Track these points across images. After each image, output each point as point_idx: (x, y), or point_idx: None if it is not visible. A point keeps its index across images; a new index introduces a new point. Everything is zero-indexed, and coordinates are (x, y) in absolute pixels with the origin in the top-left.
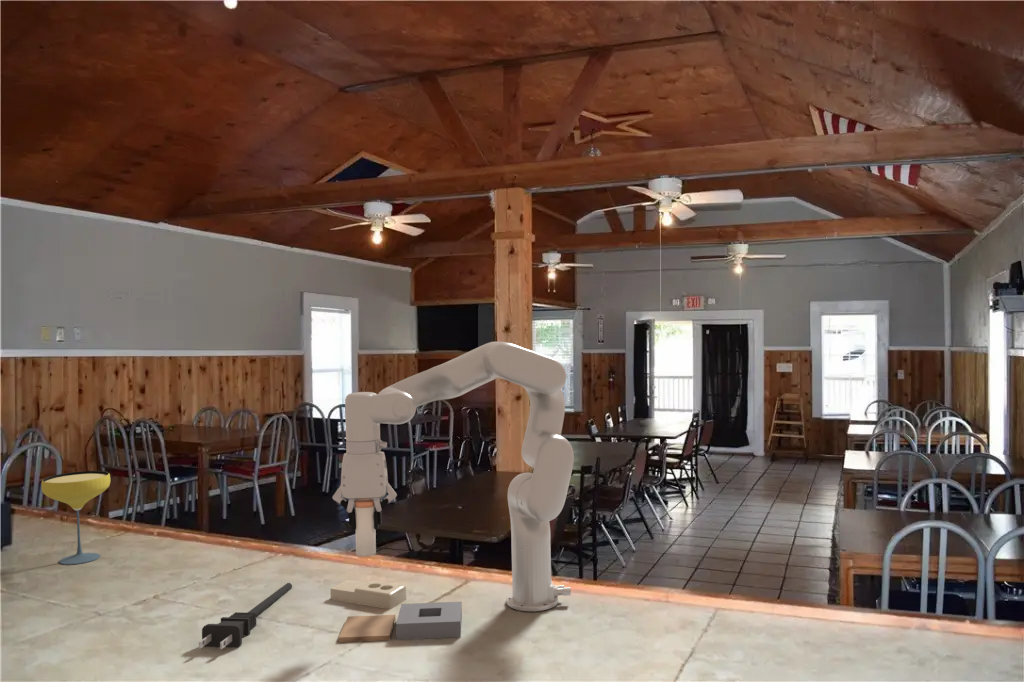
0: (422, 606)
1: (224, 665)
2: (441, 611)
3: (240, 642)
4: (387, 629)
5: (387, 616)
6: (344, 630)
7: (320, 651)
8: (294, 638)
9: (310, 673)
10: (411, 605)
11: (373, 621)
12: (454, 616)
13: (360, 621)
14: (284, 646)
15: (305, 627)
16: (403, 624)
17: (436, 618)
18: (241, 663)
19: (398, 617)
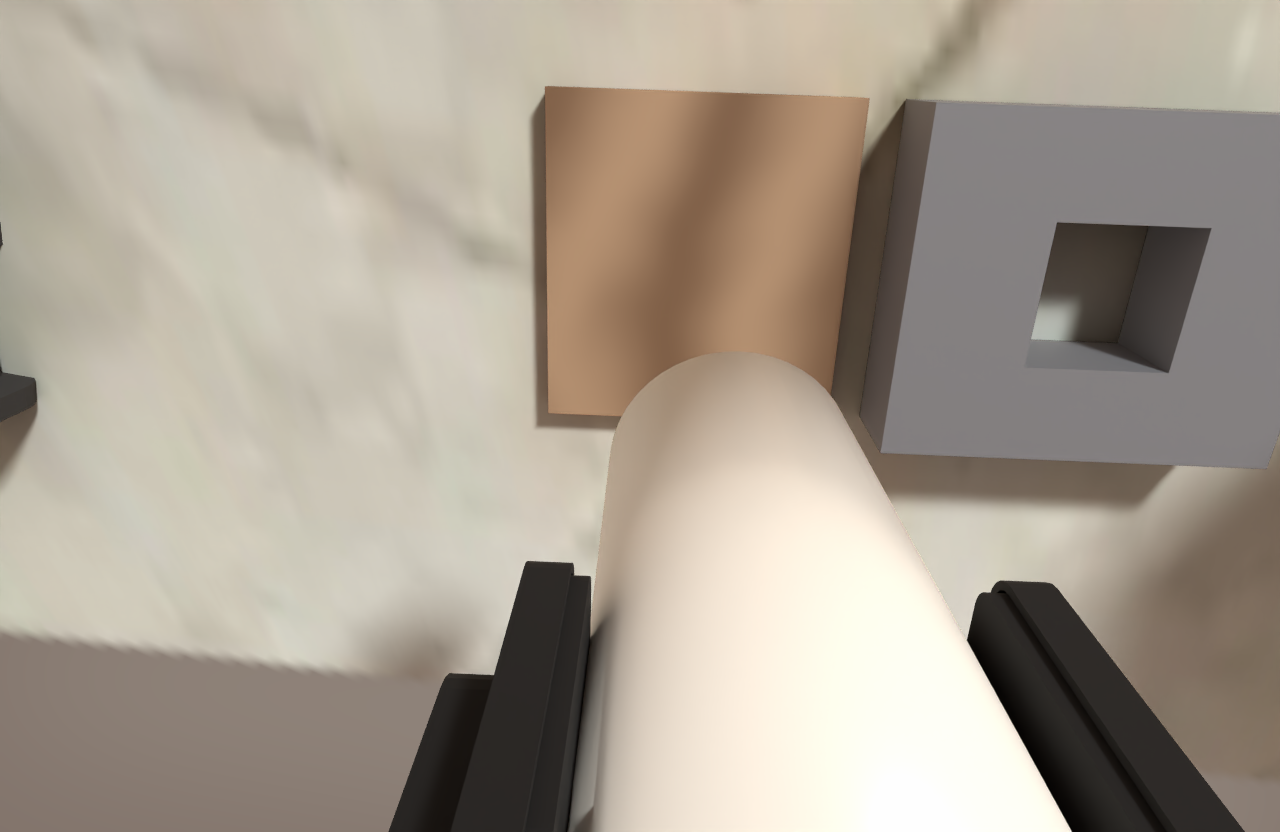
0: (1083, 181)
1: (78, 576)
2: (1194, 297)
3: (26, 403)
4: (815, 340)
5: (815, 126)
6: (563, 320)
7: (480, 496)
8: (291, 322)
9: None
10: (1006, 149)
11: (725, 203)
12: (1254, 391)
13: (641, 190)
14: (275, 416)
15: (299, 163)
16: (922, 452)
17: (1135, 405)
18: (147, 568)
19: (899, 357)
